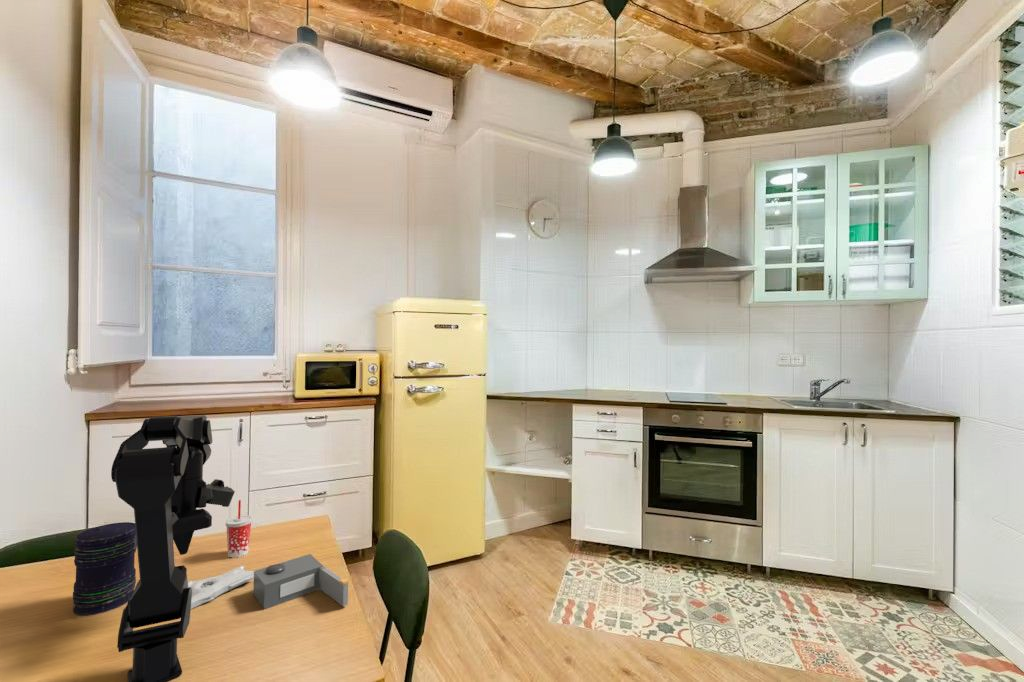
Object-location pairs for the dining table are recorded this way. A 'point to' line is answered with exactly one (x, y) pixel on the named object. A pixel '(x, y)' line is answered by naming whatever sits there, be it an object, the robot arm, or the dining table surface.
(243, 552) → the beverage cup
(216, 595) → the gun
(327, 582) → the side door
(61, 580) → the dining table surface
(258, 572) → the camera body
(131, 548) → the dark blue cylinder
